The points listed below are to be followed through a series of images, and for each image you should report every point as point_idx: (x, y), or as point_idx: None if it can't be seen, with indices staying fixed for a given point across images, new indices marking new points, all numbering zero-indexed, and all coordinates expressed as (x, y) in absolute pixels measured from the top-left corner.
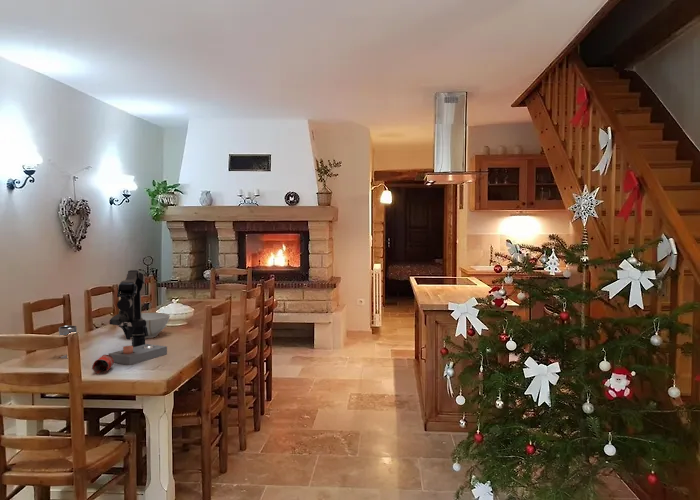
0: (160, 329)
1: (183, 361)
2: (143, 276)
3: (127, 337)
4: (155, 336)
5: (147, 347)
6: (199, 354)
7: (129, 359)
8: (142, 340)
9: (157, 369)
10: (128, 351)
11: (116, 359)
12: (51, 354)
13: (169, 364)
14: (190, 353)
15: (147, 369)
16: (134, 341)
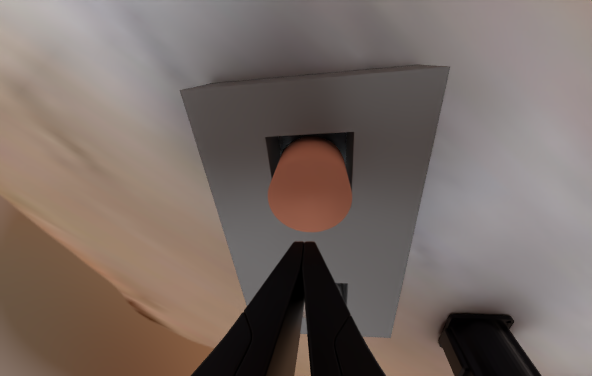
0: None
1: (101, 250)
2: None
3: (290, 259)
4: None
5: None
6: (167, 323)
7: (194, 87)
8: (458, 366)
9: (3, 99)
10: (279, 162)
11: (335, 73)
12: None
13: (82, 196)
14: (203, 324)
15: (31, 67)
16: (500, 353)
